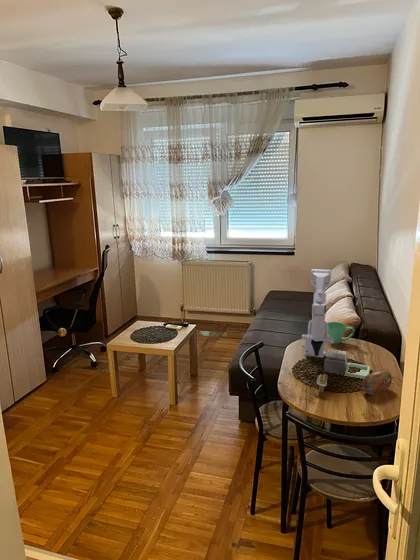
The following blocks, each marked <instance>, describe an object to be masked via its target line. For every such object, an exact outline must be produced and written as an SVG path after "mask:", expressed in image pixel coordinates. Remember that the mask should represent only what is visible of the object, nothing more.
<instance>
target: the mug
mask: <svg viewBox="0 0 420 560" xmlns="http://www.w3.org/2000/svg"><path fill="white" fill-rule="evenodd" d="M327 324H328V338H333V339H334V342H333V344H340V343H342V342H345V341H348V340H349V339H351V338H352V337H353V336H354V333H355V329H354V327H353V326H346V324H344V323H342V322H339V321H329V322H327ZM346 330H347V331H348V330H351V334H349V335H348V336H347V337H345V338H343V336H344V332H345V331H346Z"/></svg>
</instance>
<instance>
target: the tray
mask: <svg viewBox="0 0 420 560" xmlns="http://www.w3.org/2000/svg"><path fill="white" fill-rule="evenodd" d="M349 367H356V368H360V369H361V370H360V372H356V373H350V372H348V370H349ZM370 371H371V365H366V364H361V363H360V364H358V363H355V362H354V363H353V362H347V367H346V370H345V374H344V376H350V377H355V378H360V379H359V380H361V379H364V378H365V377H366V376H367V375H368V374H370V373H371V372H370ZM355 378H354V379H355Z"/></svg>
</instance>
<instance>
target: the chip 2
mask: <svg viewBox="0 0 420 560" xmlns="http://www.w3.org/2000/svg"><path fill="white" fill-rule="evenodd" d="M347 352H348V351H345V350H339V349H337V355H336V361H342V362H346V356H348V355H347Z"/></svg>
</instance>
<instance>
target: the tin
mask: <svg viewBox="0 0 420 560" xmlns="http://www.w3.org/2000/svg"><path fill="white" fill-rule="evenodd" d="M391 383H392V375H391V373H390V372H388V371H385V370H378V371H376V372H372V373H369V374H368V375H367V376H366V377H365V378H364V379H363V380H362V383H361V384H362V385H361V386H362V391H363V392H364V393H365V394H368V395H369V396H374V395H377V394H379V393H382V392H386V391H387V390H388V389H389V388H390V386H391Z"/></svg>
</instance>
